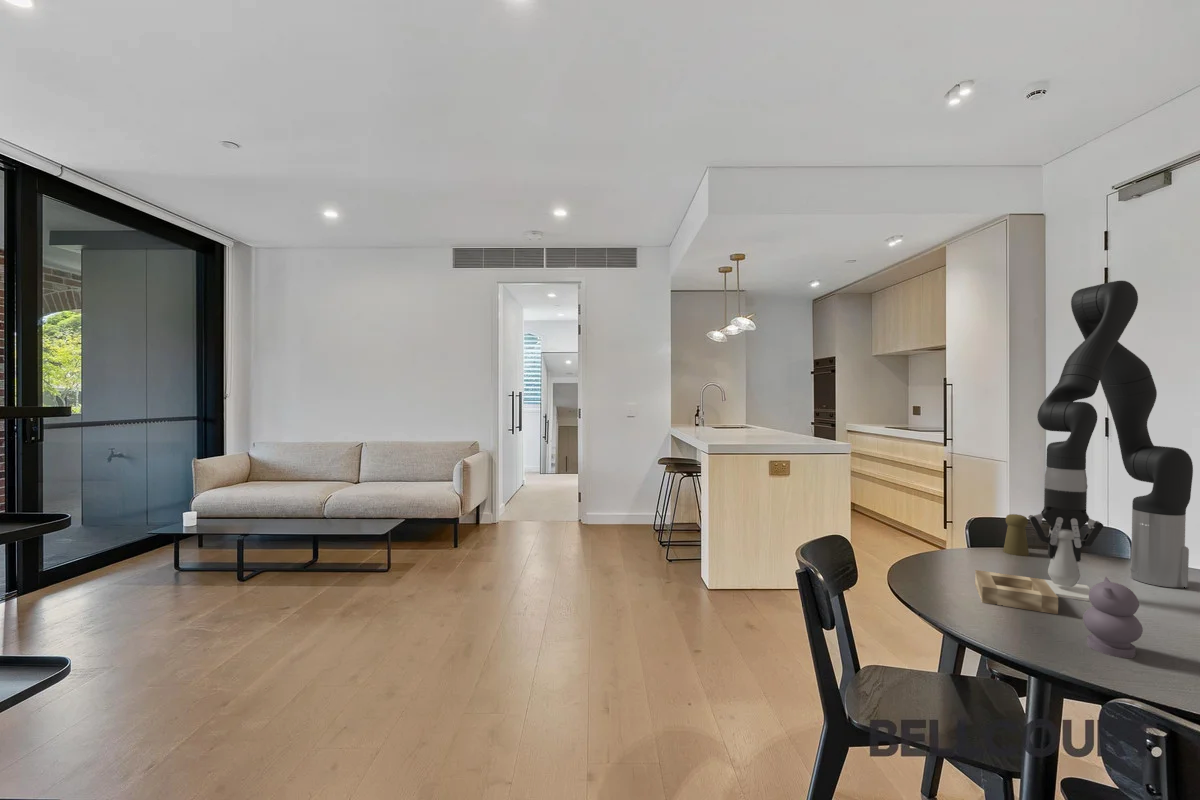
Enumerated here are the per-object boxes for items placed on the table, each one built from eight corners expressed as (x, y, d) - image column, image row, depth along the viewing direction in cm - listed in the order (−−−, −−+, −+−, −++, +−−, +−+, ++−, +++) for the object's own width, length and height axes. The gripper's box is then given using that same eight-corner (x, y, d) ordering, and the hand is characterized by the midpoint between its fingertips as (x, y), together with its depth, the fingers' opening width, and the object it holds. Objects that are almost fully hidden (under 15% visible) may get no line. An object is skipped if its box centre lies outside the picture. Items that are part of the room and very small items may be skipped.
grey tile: (1086, 587, 131) (1086, 585, 131) (1101, 603, 121) (1101, 600, 121) (1028, 579, 136) (1028, 577, 136) (1038, 593, 127) (1038, 591, 127)
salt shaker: (1067, 580, 131) (1068, 525, 131) (1086, 588, 126) (1087, 531, 126) (1041, 579, 132) (1042, 524, 132) (1059, 587, 126) (1060, 530, 126)
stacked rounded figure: (1142, 665, 93) (1144, 594, 93) (1081, 650, 99) (1082, 583, 98) (1141, 648, 99) (1143, 582, 99) (1083, 635, 105) (1084, 572, 105)
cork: (1010, 555, 157) (1011, 516, 157) (998, 549, 163) (999, 512, 163) (1034, 556, 156) (1034, 517, 156) (1021, 550, 162) (1022, 513, 162)
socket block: (1043, 594, 126) (1044, 579, 126) (1057, 614, 115) (1058, 597, 115) (975, 584, 132) (975, 570, 132) (982, 602, 121) (982, 586, 121)
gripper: (1099, 487, 129) (1098, 562, 129) (1024, 482, 135) (1023, 553, 135) (1110, 492, 122) (1108, 571, 122) (1030, 487, 129) (1029, 561, 129)
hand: (1063, 561), depth 129 cm, fingers closed on salt shaker, 3 cm apart
